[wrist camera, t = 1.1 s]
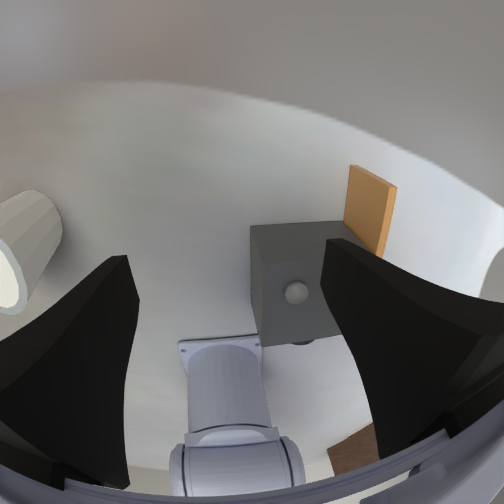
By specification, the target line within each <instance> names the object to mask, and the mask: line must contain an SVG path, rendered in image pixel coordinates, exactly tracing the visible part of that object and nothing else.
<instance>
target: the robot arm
mask: <svg viewBox="0 0 504 504" xmlns="http://www.w3.org/2000/svg"><path fill="white" fill-rule="evenodd" d="M320 286H321V289H322V292H323V295H324V298H325V300H326V303H327V306H328V308H329V310H330V312H331V314H332V316H333V318H334V319H335V321H336V323H337V325H338V327H339V329H340V331H341V333H342V335H343V337H344V339H345V341H346V343H347V345H348V346H349V348H350V350H351V353H352V355H353V357H354V359H355V362H356V365H357V368H358V370H359V373H360V376H361V379H362V382H363V385H364V389H365V392H366V396H367V399H368V403H369V407H370V411H371V415H372V419H373V424H374V429H375V435H376V441H377V447H378V455H379V458H380V460H379V461H377V462H374V463H372V464H369V465H367V466H364V467H361V468H358V469H356V470H353V471H350V472H347V473H344V474H340V475H337V476H334V477H330V478H327V479H324V480H319V481H316V482H312V483H307V484H306V479H305V470H304V465H303V461H302V457H301V454H300V451H299V449H298V447H297V445H296V444H295V443H294V442H293V441H292V440H290V439H289V438H288V437H287V436H282V437H279V432H278V428H277V427H274V428H272V424H271V420H270V415H269V411H268V406H267V401H266V397H265V392H264V387H263V382H262V378H261V376H262V349H263V347H261V345H260V341H259V336H258V335H254V336H244V337H234V338H223V339H211V340H197V341H181V342H179V343H178V350H179V353H180V356H181V360H182V363H183V366H184V369H185V372H186V375H187V378H188V434H185V444H177V445H176V447H175V448H174V449H173V450H172V452H171V455H170V462H169V473H170V484H171V489H172V494H173V496H164V495H151V494H142V493H133V492H127V491H121V490H123V489H125V488H127V487H128V486H129V485H130V480H129V475H128V469H127V461H126V454H125V441H124V388H125V379H126V372H127V367H128V363H129V358H130V353H131V349H132V344H133V340H134V335H135V331H136V327H137V321H138V313H139V303H140V299H139V296H138V293H137V289H136V286H135V283H134V279H133V276H132V272H131V269H130V265H129V262H128V258H127V255H121V256H111V257H110V258H108V259H107V260H106V261H104V262H103V263H102V264H101V265H99V266H98V267H97V268H96V269H95V270H93V271H92V272H91V273H90V274H89V275H88V276H87V277H85V278H84V279H83V280H82V281H81V282H80V283H79V284H78V285H76V286H75V287H74V288H73V289H72V290H71V291H69V292H68V293H67V294H66V295H65V296H64V297H62V298H61V299H60V300H59V301H58V302H57V303H55V304H54V305H53V306H52V307H50V308H49V309H48V310H47V311H45V312H44V313H43V314H41V315H40V316H39V317H37V318H36V319H35V320H33V321H32V322H30V323H29V324H27V325H26V326H24V327H22V328H21V329H19V330H18V331H16V332H15V333H13V334H12V335H10V336H9V337H7V338H5V339H3V340H2V341H0V504H323V503H327V502H330V501H334V500H337V499H340V498H343V497H346V496H349V495H352V494H355V493H358V492H361V491H363V490H366V489H368V488H371V487H373V486H376V485H378V484H381V483H383V482H385V481H388V480H389V479H392V478H394V477H396V476H398V475H400V474H403V473H405V472H407V471H408V470H411V471H410V472H409V476H408V478H407V479H406V480H404V481H403V482H400V483H398V484H396V485H394V486H392V487H390V488H388V489H385V490H384V491H381V492H379V493H377V494H374V495H372V496H369V497H367V498H364V499H362V500H360V504H489V503H490V502H491V501H492V500H493V498H494V497H495V496H496V495H497V493H498V492H499V491H500V489H501V488H502V487H503V485H504V303H500V302H493V301H488V300H484V299H480V298H476V297H472V296H468V295H465V294H461V293H458V292H455V291H452V290H449V289H446V288H444V287H441V286H438V285H436V284H433V283H431V282H429V281H426V280H424V279H422V278H419V277H417V276H415V275H413V274H411V273H409V272H407V271H405V270H403V269H401V268H399V267H397V266H395V265H393V264H391V263H389V262H387V261H385V260H384V259H382V258H380V257H378V256H376V255H375V254H373V253H371V252H369V251H367V250H365V249H364V248H362V247H360V246H358V245H356V244H354V243H352V242H350V241H348V240H345V239H343V238H335V239H326V247H325V254H324V261H323V267H322V273H321V280H320ZM412 468H413V469H412ZM95 485H98V486H95ZM100 486H103V487H100ZM104 486H105V487H109V488H115V489H121V490H115V489H109V488H104Z"/></svg>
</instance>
